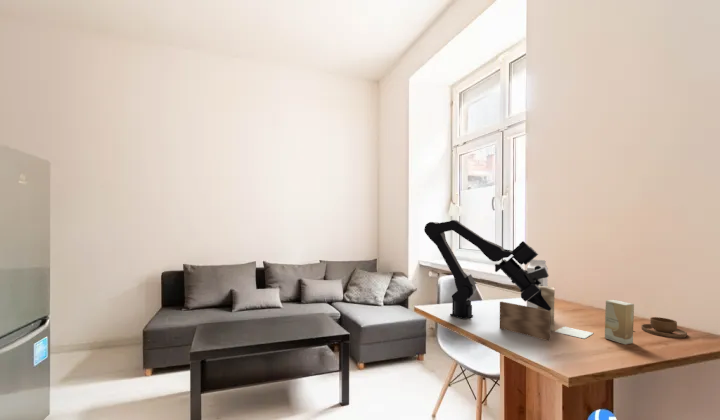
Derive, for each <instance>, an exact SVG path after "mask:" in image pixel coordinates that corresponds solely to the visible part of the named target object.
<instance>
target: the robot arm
mask: <svg viewBox="0 0 720 420" xmlns="http://www.w3.org/2000/svg"><path fill="white" fill-rule="evenodd" d="M423 230H424V233H425V234H426V236H427V237H428V239H430V241H432V243H434V244H435V246H436V247H437V249H438V251H439V252H440V254H441V257H442V258H443V260H444V262H445V264H446V266H447V267H448V270H449V271H450V273H451V274H452V276H453V279H454V283H455V287H456V290H457V291H456V292H454V293H453V294H451V298H452V299H451V300H452V307H451V309H452V310H451V311H452V313H450V314H449V316H451V317H454V318H455V317H456V318H459V319H468V318H471V317H472V318H473V317H474V314H473V305H472V300H470V299H471V297H472V296H474V294H475V293H476V290H477V285H476V284H477V283H476V281H475V280H474V277H473V276H472V274H468V275H467V273H466V272H465V271H464V269H463V268H462V266H461V264H460V262H459V261H458V259H457V257H456V256H455V254H454V252H453V250H452V248H451V247H450V245H449V243H448V241H447V237H446V234H445V232H451V231H453V232H455V233H456V234H458V235H459V236H460V237H461V238H463V239H465V240H466V241H467V242H469V243H471V244H473V245H474V246H475V247H476V248H478V250H479V251H480V252H482V254H483V255H484V256H485V257H487V259H489V260H490V261H491V262H495V264H494V272H495V273H497V272H499V271H500V270H501V271H502V272H503V273H504V274H505V275H506V276H507V278H509V279H510V280H511V281H510V282H511V283H512V284H513V285H514V284H515V286H516V287H518V289H519V291H520V298H521V299H522V300H523V301H524V302H527V301H528V302H531V303H533V304H535V305H538V306H540V307H542V308H544V309H546V310H548V311H550V310H551V307H550V306H549V305H548V303H547V302H546V301H545V299H544V298H543V296H542V295H541V289H540V288H539V287H538V285H539V284H541V281H540V280H539V279H541V278H546V277H548V278H549V272H548V273H547V271H546V269H545V267H542V268H541V267H540V266H539V265H538V266H536V267H535V270H534V271H531V272H528V271H527V269H524V268H522V267H521V266H522V265H523V264H524V265H525V266H526V265H529V262H530V261H531V260H532V259H534V260H535V258H536V257H538V255H539V253H538V252H537V251H536V250H535V249H534V248H533V247H531V246H530V245H528V244H527V243H526V242H525V241H524V240H523V241H521V242H520V243H519V244H518V245H517V246H516V247H515V248H514V249H513V250H511V249H505V248H504V247H502V246H501V245H499V244H497V243H495V242H492V241H490V240H487V239H485V238H484V237H482V236H481V235H479V234H478V233H476V232H474V231H473V230H471V229H470V228H468V227H466V226H465V225H464V224H462V223H461V222H460V221H459V220H456V219H452V220H449V221H442V222H437V221H430V222H427V223H426V224H425V226H424V229H423ZM509 257H510V258H509ZM504 258H508V260H506V259H504ZM514 259H515V260H514ZM500 261H501V262H500ZM497 262H499V263H497ZM541 286H542V285H541Z"/></svg>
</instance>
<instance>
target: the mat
mask: <svg viewBox="0 0 720 420" xmlns="http://www.w3.org/2000/svg"><path fill="white" fill-rule="evenodd" d="M553 332H554V333H557V334H560V335H561V334H562V335H565V336H566V335H567V336H571V337H574V338H579V339H583V340H585V339H587V338H589V337H590V336H592V335H594V332H591V331H586V330H581V329H578V328H572V327H568V326H562V327H560V328H558V329H556V330H554V331H553Z"/></svg>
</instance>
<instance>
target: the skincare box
mask: <svg viewBox="0 0 720 420" xmlns="http://www.w3.org/2000/svg"><path fill="white" fill-rule="evenodd" d="M604 314H605V315H604V317H605V318H604V320H605V321H604V339H607V340H610V341H613V342H616V343H620V344H622V345H629V344H633V343H634V332H633V331H634V324H635V323H634V321H635V320H634V316H635V315H634V314H635V304H634V303H632V302H631V303H630V302H626V301H621V300H618V299H617V300H616V299H609V300H608V299H607V300H605V313H604Z"/></svg>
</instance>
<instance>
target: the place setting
mask: <svg viewBox="0 0 720 420" xmlns="http://www.w3.org/2000/svg"><path fill="white" fill-rule="evenodd" d="M649 320H650V321H649V322H650V323H643V324H641V329H642V330H643V331H644V332H645V333H649V334H652V335H655V336H659V337H666V338H674V339H676V338H677V339H682V338H683V339H684V338H686V337H687V336H688V332H687V331H686V330H683V329H681V328H678V322H677V321H676V320H674V319H672V318H671V319H670V318H665V317H657V316H655V317H653V316H652V317H650V319H649ZM651 329H653V330H651ZM636 332H637V331H636V330H633V333H636ZM675 333H678V334H675Z"/></svg>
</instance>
